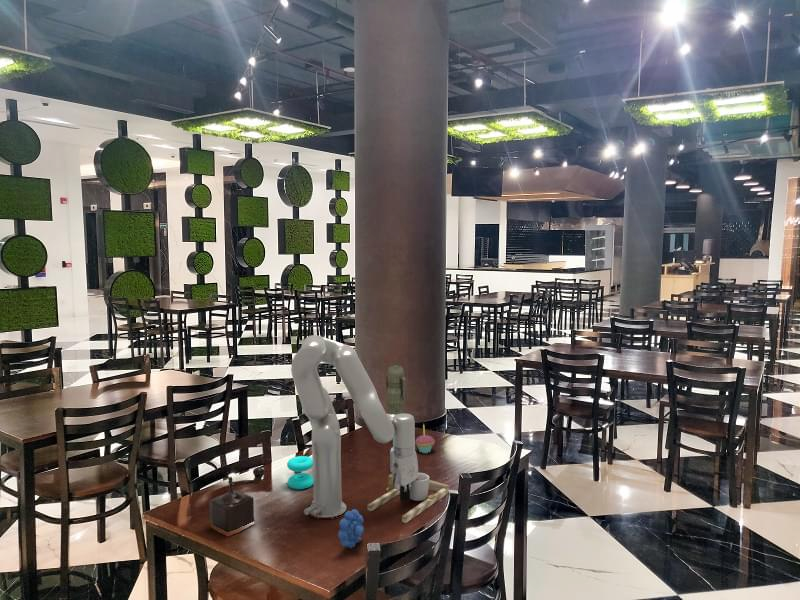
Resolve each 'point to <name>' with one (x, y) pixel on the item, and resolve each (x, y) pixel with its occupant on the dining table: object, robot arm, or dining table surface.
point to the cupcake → (424, 442)
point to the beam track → (433, 485)
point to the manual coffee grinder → (234, 506)
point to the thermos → (396, 390)
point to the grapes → (351, 528)
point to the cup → (419, 487)
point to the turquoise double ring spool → (301, 478)
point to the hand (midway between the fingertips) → (405, 500)
